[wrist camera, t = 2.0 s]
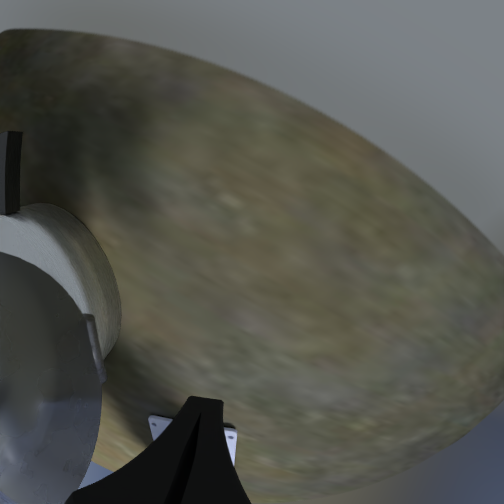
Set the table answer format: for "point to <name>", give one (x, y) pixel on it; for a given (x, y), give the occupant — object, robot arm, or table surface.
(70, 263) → the cooker pot
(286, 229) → the table surface
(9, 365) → the cooker lid
